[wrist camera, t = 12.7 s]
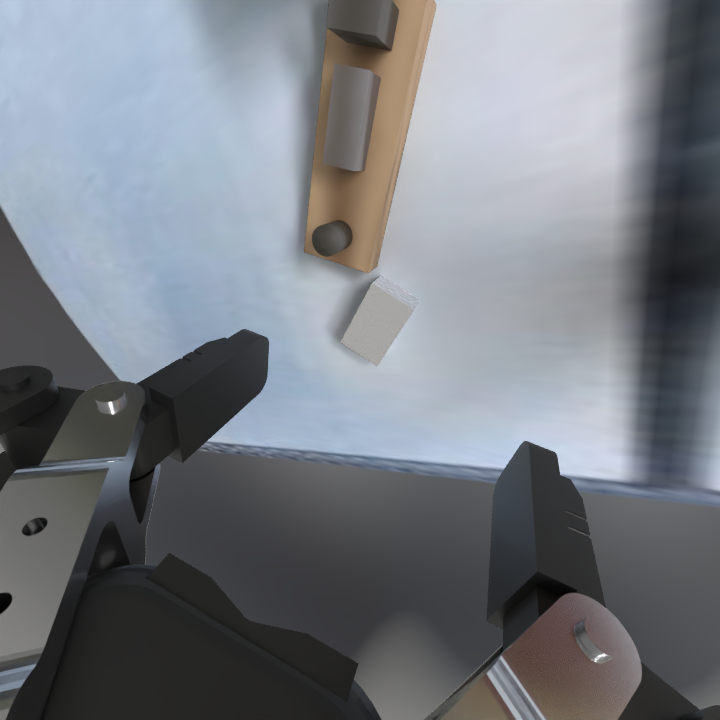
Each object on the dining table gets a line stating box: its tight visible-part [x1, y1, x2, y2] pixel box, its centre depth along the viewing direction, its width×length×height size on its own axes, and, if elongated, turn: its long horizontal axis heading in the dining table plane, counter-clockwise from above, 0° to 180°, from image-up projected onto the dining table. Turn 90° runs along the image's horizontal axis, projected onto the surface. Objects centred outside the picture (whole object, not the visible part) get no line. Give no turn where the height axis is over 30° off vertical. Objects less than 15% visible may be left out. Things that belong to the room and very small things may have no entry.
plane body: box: [304, 0, 436, 273], centre depth 32 cm, size 8×22×7 cm, turn 168°
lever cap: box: [341, 276, 420, 366], centre depth 41 cm, size 6×9×4 cm, turn 153°
